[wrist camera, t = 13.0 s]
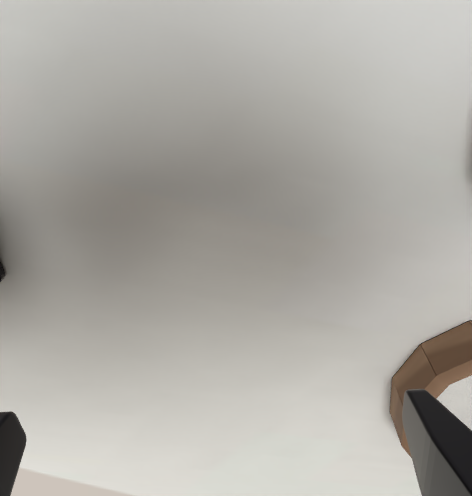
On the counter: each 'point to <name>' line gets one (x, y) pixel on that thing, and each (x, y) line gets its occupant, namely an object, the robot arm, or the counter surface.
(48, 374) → the counter surface
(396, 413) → the grey tag ring
